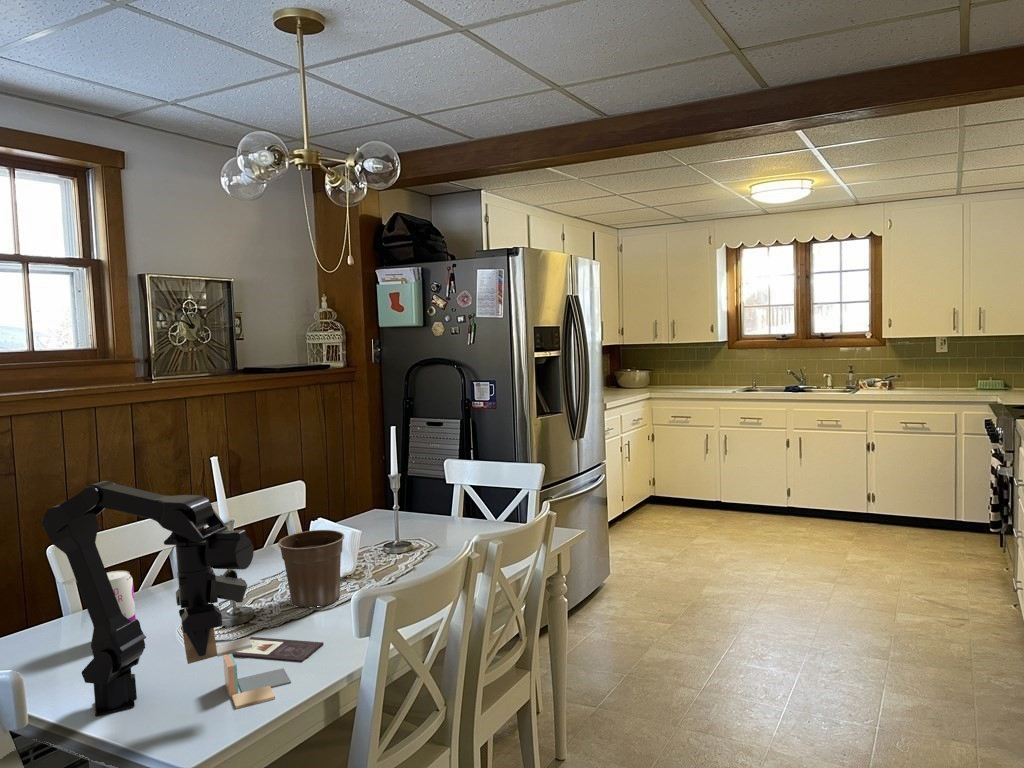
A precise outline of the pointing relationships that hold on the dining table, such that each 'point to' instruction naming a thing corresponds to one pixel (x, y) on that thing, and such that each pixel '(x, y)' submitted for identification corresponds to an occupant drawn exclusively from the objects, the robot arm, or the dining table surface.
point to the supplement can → (123, 592)
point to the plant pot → (313, 566)
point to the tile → (230, 674)
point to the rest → (253, 697)
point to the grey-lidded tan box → (214, 647)
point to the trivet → (264, 680)
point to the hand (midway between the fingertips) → (201, 652)
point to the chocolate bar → (279, 649)
